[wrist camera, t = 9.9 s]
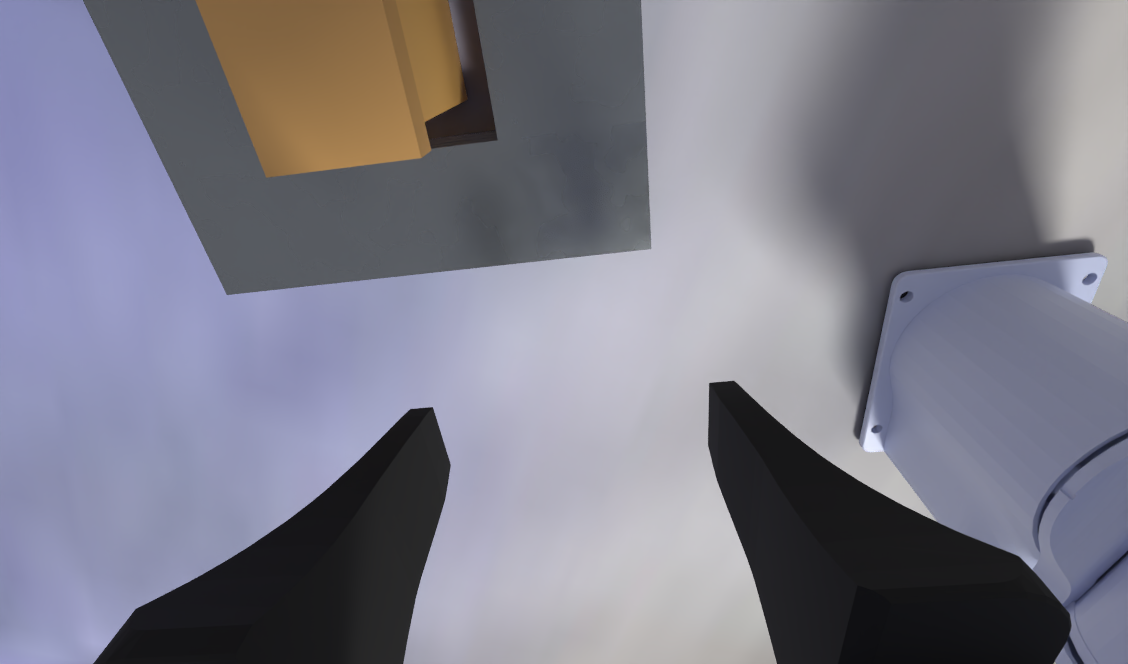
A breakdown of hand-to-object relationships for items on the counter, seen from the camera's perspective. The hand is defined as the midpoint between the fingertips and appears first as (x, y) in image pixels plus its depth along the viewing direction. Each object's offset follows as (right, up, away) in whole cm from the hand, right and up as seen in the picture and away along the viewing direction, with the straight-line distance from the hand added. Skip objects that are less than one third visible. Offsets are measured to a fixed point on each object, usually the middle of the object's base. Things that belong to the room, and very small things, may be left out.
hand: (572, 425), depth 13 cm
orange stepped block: (-6, +13, +4) cm, 15 cm away
